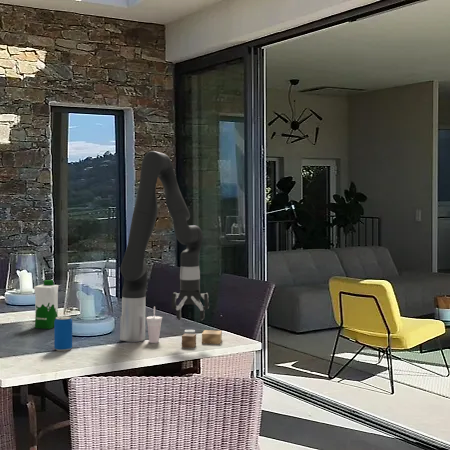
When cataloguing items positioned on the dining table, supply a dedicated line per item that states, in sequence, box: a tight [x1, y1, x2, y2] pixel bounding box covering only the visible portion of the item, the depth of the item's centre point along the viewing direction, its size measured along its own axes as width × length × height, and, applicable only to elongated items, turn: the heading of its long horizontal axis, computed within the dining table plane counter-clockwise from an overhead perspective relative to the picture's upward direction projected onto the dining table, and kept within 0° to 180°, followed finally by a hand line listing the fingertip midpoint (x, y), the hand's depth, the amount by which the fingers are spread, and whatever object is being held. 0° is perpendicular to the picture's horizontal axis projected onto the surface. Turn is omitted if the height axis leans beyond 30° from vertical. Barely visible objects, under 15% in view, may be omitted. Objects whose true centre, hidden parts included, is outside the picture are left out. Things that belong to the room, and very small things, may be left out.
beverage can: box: [53, 315, 73, 352], centre depth 248 cm, size 6×6×12 cm
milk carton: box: [33, 279, 59, 330], centre depth 288 cm, size 9×9×20 cm
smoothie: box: [145, 306, 163, 344], centre depth 262 cm, size 6×6×14 cm
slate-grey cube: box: [184, 329, 196, 334], centre depth 266 cm, size 4×4×4 cm
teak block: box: [201, 329, 223, 345], centre depth 264 cm, size 7×7×4 cm
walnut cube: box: [181, 332, 197, 349], centre depth 256 cm, size 4×4×4 cm
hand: (190, 320), depth 256 cm, fingers open, 8 cm apart
